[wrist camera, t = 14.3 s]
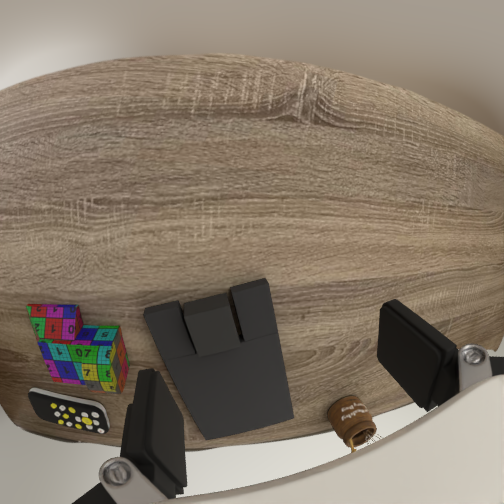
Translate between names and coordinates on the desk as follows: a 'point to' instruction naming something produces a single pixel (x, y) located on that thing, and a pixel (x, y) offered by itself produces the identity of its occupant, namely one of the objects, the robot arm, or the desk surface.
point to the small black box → (211, 325)
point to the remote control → (69, 411)
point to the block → (79, 348)
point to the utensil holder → (352, 421)
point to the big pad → (228, 366)
